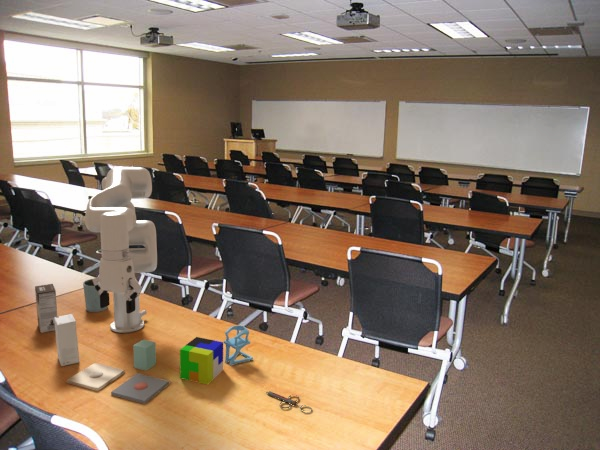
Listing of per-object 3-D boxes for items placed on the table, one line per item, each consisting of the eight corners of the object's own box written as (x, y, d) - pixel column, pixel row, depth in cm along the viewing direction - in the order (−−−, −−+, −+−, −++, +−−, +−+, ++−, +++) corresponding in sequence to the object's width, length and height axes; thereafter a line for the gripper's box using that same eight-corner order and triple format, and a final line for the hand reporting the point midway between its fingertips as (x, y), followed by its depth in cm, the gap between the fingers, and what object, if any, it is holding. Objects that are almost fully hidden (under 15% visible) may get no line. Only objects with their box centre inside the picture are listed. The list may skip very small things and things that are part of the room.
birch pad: (95, 365, 161) (94, 362, 160) (124, 372, 157) (124, 369, 157) (66, 382, 150) (66, 379, 149) (97, 391, 146) (97, 387, 145)
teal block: (143, 361, 165) (143, 339, 163) (156, 364, 163) (155, 342, 162) (134, 367, 160) (133, 345, 159) (146, 370, 159) (146, 348, 157)
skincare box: (79, 362, 162) (77, 321, 159) (60, 367, 159) (56, 324, 156) (75, 352, 169) (73, 312, 166) (56, 356, 166) (53, 316, 163)
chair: (220, 360, 168) (220, 328, 165) (238, 352, 174) (239, 321, 171) (234, 368, 162) (234, 335, 160) (253, 359, 168) (253, 327, 166)
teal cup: (92, 303, 214) (91, 277, 212) (114, 305, 213) (113, 279, 210) (79, 311, 204) (77, 284, 202) (102, 313, 203) (100, 286, 201)
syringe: (269, 387, 152) (269, 382, 152) (317, 407, 143) (318, 402, 142) (253, 398, 146) (253, 392, 146) (303, 419, 136) (303, 414, 136)
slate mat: (137, 376, 155) (137, 372, 155) (169, 383, 151) (169, 380, 151) (111, 394, 144) (111, 391, 144) (144, 403, 140) (144, 400, 140)
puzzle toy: (223, 370, 161) (223, 342, 159) (207, 384, 152) (207, 355, 150) (196, 364, 164) (196, 336, 162) (180, 378, 155) (179, 349, 153)
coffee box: (37, 324, 190) (34, 285, 187) (55, 321, 194) (52, 283, 191) (40, 333, 183) (37, 293, 180) (59, 329, 187) (56, 290, 183)
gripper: (148, 254, 142) (149, 309, 145) (101, 247, 148) (104, 300, 151) (130, 260, 135) (132, 318, 138) (82, 253, 141) (85, 308, 144)
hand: (117, 309), depth 145 cm, fingers open, 9 cm apart
